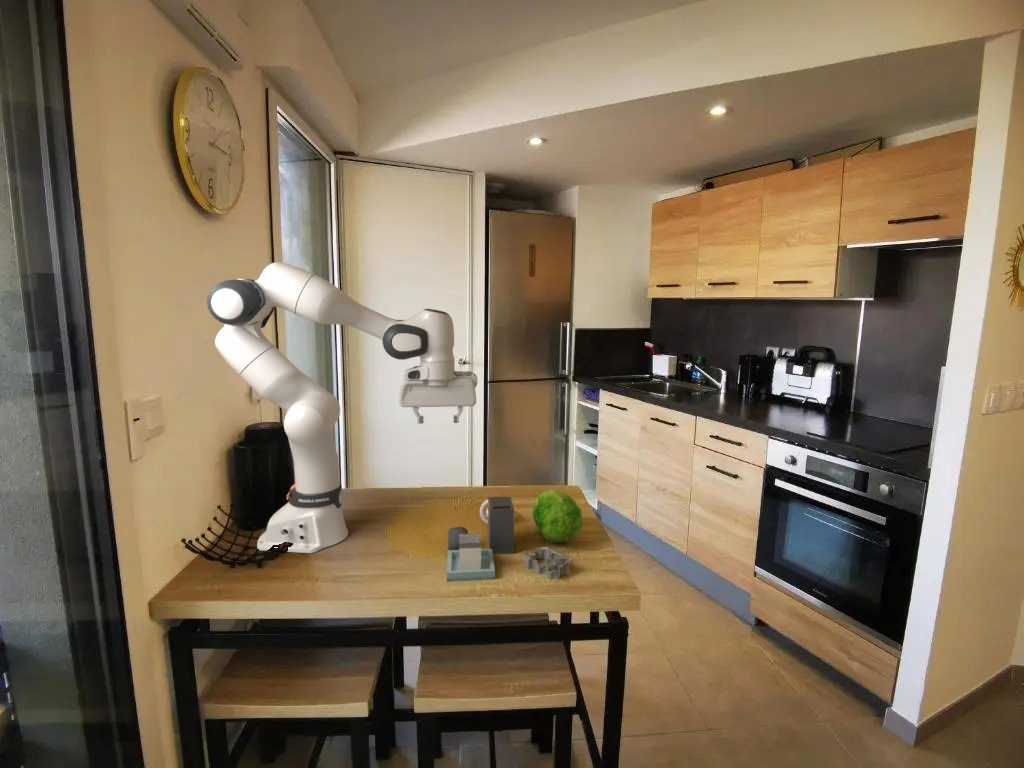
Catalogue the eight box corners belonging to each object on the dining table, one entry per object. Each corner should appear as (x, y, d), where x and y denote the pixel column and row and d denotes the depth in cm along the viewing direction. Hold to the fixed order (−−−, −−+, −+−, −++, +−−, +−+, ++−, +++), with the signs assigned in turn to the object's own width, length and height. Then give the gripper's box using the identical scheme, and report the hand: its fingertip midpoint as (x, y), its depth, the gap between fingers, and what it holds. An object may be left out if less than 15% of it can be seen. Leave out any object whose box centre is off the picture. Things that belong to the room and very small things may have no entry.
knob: (448, 554, 131) (447, 535, 131) (448, 545, 136) (448, 527, 136) (468, 553, 132) (467, 534, 131) (467, 544, 137) (467, 526, 136)
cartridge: (459, 571, 122) (459, 543, 121) (459, 561, 127) (458, 533, 126) (481, 570, 122) (481, 542, 121) (480, 560, 127) (480, 533, 126)
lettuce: (570, 517, 155) (571, 479, 153) (588, 553, 132) (589, 510, 130) (527, 518, 154) (527, 480, 152) (537, 555, 131) (538, 511, 129)
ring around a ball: (507, 522, 151) (507, 495, 150) (507, 530, 145) (508, 503, 144) (479, 522, 151) (479, 496, 149) (479, 530, 145) (479, 503, 144)
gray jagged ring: (520, 566, 126) (520, 550, 126) (542, 556, 131) (542, 541, 131) (552, 583, 118) (552, 566, 118) (574, 572, 123) (574, 556, 123)
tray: (446, 581, 119) (446, 573, 118) (447, 557, 129) (447, 550, 129) (494, 579, 120) (494, 570, 119) (492, 556, 131) (492, 548, 130)
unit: (488, 554, 131) (488, 507, 130) (487, 540, 139) (487, 495, 137) (514, 553, 132) (515, 506, 130) (511, 539, 140) (511, 495, 138)
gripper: (476, 369, 141) (477, 419, 143) (400, 370, 139) (401, 420, 141) (477, 372, 134) (477, 424, 137) (397, 373, 132) (398, 426, 135)
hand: (438, 422), depth 139 cm, fingers open, 8 cm apart
